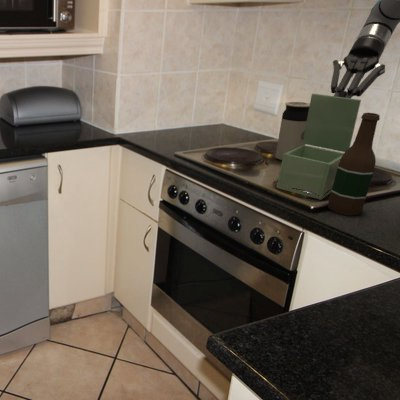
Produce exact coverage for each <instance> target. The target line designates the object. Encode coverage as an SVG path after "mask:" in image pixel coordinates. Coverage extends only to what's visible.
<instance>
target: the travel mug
mask: <svg viewBox="0 0 400 400" xmlns="http://www.w3.org/2000/svg"><path fill="white" fill-rule="evenodd" d="M284 104H285V109H284V111H283V112H282V116H281V121H280V126H279V133H278V139H277V145H276V151H275V158H276V159H277V160H279V161H282V159H283V155H284V153H287V152H289V151H291V150H293V149H295V148H297V147H299V146H301V145H306V144H303V138H304V133H305V128H306V122H307V117H308V112H309V106H310V102H304V101H287V102H286V101H285V103H284Z"/></svg>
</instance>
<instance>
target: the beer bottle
mask: <svg viewBox="0 0 400 400" xmlns="http://www.w3.org/2000/svg"><path fill="white" fill-rule="evenodd" d="M380 116H381V115H380V114H378V113H376V112H375V113H374V112H363V113H362V115H361V116H360V119H361V122H360V125H359V127H358V131H357V133H356V136H355V138H354V141H353V143H352V144H351V145H350V148H349V149H348V150H346V152H343V153H344V154H343V156H342V157H341V160H340V163H339V165H338V169H337V172H336V176H335V180H334V183H333V187H332V191H331V193H330V194H329V198H328V203H327V209H328V210H330V211H332V212H334V213H335V214H339V215H345V216H350V217H351V216H360V215H361V213H362V211H363V208H364V206H365V202H366V199H367V195H368V192H369V189H370V185H371V182H372V178H373V176H374V173H375V167H376V162H377V161H376V154H375V152H374V149H373V144H374V138H375V135H376V129H377V124H378V121H380V119H381V118H380Z"/></svg>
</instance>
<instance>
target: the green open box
mask: <svg viewBox="0 0 400 400" xmlns="http://www.w3.org/2000/svg"><path fill="white" fill-rule="evenodd" d="M344 153H345V152H342V151H337V150H332V149H327V148H322V147H317V146H312V145H307V144H305V145H301V146H299V147H297V148H295V149H293V150H291V151H289V152H287V153H284V155H283V159H282V160H281V164H280V168H279V173H278V177H277V182H276V186H275V188H276V189H279V190H283V191H287V192H291V193H294V194H297V195H301V196H304V197H309V198H312V199H316V200H319V201H322V200H323V199H325V198H326V197H328V196H330V194H331V191H332V190H331V191H329V192H328V193H326V192H327V191H328V190H329V189H331V188H332V187H333V183H334V180H335V176H336V172H337V169H338V165H339V163H340V160H341V157H342V156H343V154H344ZM292 188H297V189H303V190H308V191H312V192H314V193H316V194H317V195H315V194H311V193H307V192H303V191H300V190H296V189H292ZM325 193H326V194H325ZM324 194H325V195H324ZM318 195H319V196H318Z"/></svg>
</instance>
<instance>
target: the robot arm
mask: <svg viewBox="0 0 400 400" xmlns="http://www.w3.org/2000/svg"><path fill="white" fill-rule="evenodd" d="M399 23H400V0H376V2H375V4H374V5H373V7H372V8H371V9H370V12H369V14H368V17H367V18H366V20H365V22H364V24H363V26H362V28H361V29H360V32H359V33H358V35H357V37H356V39H355V41H354V43H353V45H352V46H351V48H350V50H349V52H348V54H347V55H346V56H344V58H343V59H341V60H337V59H335V60H333V61H332V67H333V68H332V69H333V72H332V77H331V82H330V93H331V94H333V96H336V97H343V98H351V99H352V98H353V97H357V98H358V97H359V98H360V97H361V96H362V95H363V94H364V93H365V92H366V91H367V90H368V88H369V87H370V86H371V85H372V84H373V83H374V82H375V81H376V79H378V78H379V77H381V76H382V75H383V74H385V73H386V65H385V64H383V63H380V58H381V57H382V55H383V53H384V51H385V49H386V47H387V45H388V43H389V41H390V39H391V38H392V36H393V33H394V32H395V30H396V28H397V26H398V25H399ZM343 66H344V67H345V69H346V70H345V73H344V75H343V76H342V78H341V80H340V82H339V79H340V74H341V73H340V72H341V71H340V70H342V68H343ZM369 72H370V73H369ZM367 73H368V75H367V76H366V77H365V78H364V76H365V75H366V74H367ZM363 78H364V79H363ZM351 79H352V80H351ZM362 79H363V80H362ZM361 81H362V82H361ZM338 83H339V84H338ZM349 83H350V84H349ZM348 85H349V86H348ZM346 90H347V91H346Z"/></svg>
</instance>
